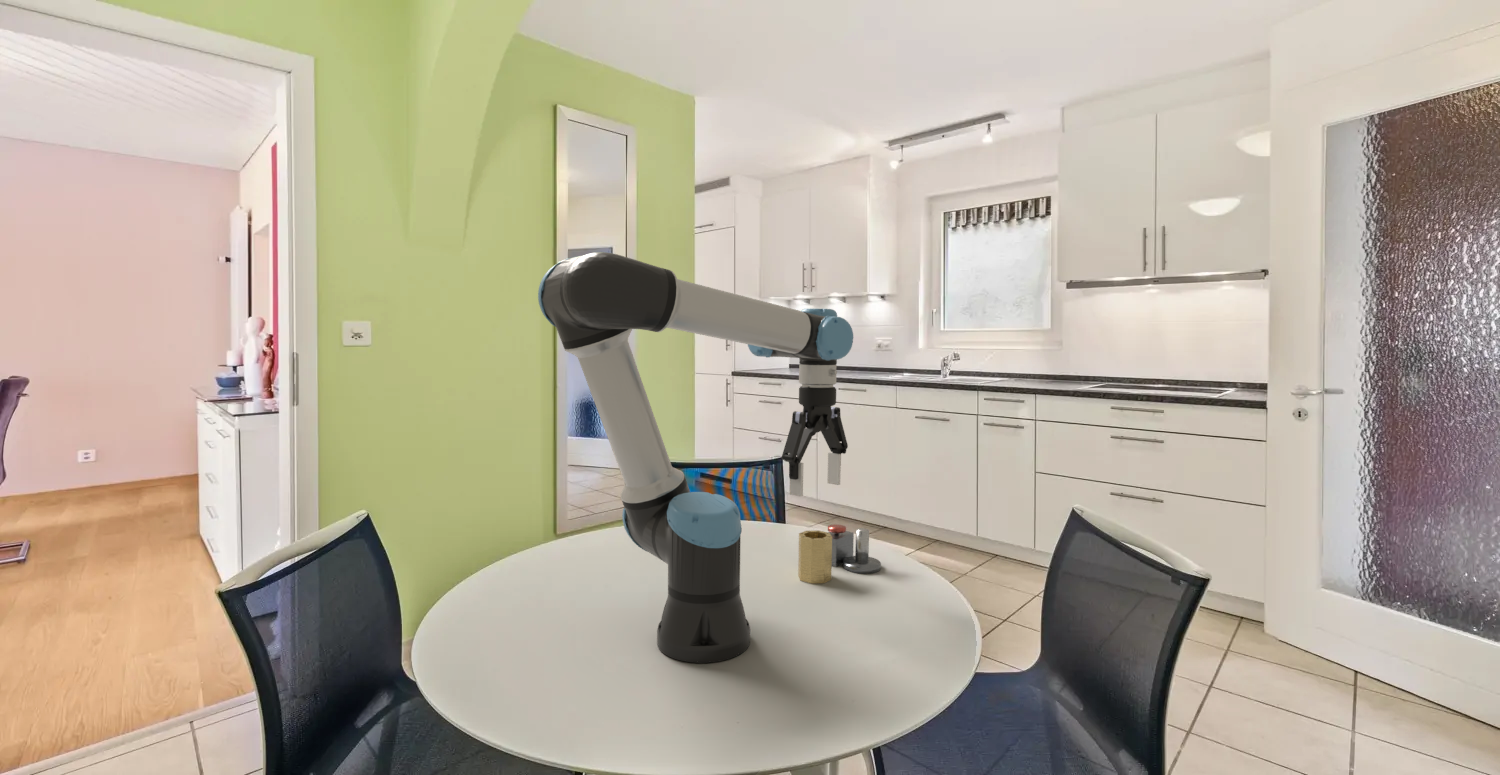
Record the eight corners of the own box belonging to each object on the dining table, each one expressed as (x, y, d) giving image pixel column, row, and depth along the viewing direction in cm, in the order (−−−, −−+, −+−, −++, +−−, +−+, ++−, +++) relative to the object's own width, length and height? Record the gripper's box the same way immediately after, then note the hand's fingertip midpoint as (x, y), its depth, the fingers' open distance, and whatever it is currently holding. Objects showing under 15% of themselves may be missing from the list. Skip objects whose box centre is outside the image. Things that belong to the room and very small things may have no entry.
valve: (868, 576, 141) (869, 537, 141) (817, 562, 150) (818, 526, 149) (887, 566, 148) (888, 529, 147) (837, 554, 156) (838, 518, 155)
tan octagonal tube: (818, 585, 136) (819, 541, 135) (792, 578, 140) (793, 535, 139) (836, 577, 141) (837, 534, 140) (810, 570, 145) (811, 528, 144)
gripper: (796, 390, 125) (794, 503, 127) (865, 383, 145) (862, 482, 146) (764, 387, 130) (763, 497, 132) (835, 381, 149) (833, 477, 151)
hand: (815, 489), depth 139 cm, fingers open, 13 cm apart
